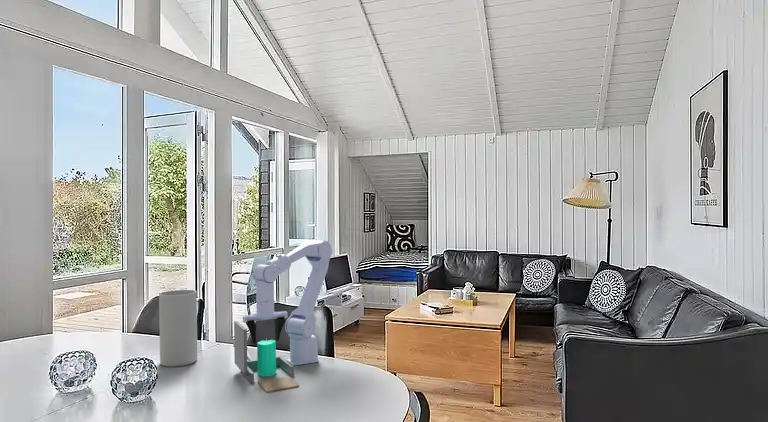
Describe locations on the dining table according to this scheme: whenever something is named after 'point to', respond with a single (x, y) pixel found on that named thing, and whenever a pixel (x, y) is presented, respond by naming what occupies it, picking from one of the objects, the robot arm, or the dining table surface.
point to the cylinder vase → (178, 327)
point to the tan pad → (278, 384)
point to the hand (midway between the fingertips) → (265, 341)
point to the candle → (266, 357)
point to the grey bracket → (242, 357)
